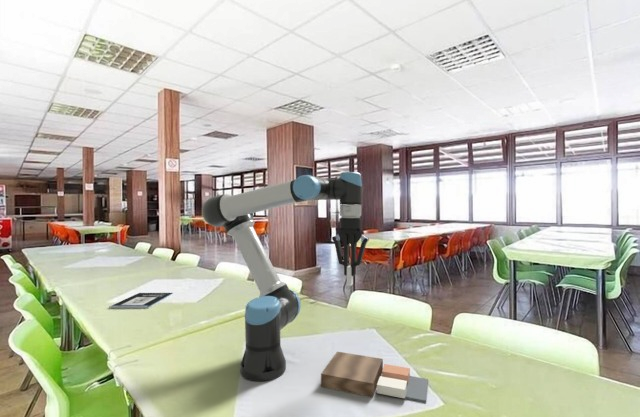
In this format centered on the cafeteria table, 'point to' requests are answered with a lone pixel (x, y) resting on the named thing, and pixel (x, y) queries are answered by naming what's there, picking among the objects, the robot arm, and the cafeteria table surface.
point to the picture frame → (140, 301)
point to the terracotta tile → (396, 372)
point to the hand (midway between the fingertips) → (349, 284)
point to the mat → (416, 389)
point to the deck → (352, 373)
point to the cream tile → (392, 387)
